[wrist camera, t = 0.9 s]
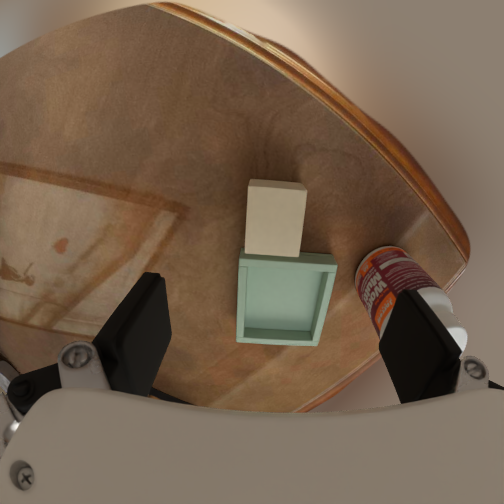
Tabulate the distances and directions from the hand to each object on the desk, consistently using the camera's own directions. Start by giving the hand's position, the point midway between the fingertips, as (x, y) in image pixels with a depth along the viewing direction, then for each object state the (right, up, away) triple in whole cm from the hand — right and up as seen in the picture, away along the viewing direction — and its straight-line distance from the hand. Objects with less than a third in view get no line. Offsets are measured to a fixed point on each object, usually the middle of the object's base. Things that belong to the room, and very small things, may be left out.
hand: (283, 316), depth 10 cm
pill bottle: (+11, +1, +14) cm, 18 cm away
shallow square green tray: (+2, -1, +15) cm, 15 cm away
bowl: (-59, -27, +29) cm, 71 cm away
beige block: (+1, +6, +11) cm, 13 cm away
